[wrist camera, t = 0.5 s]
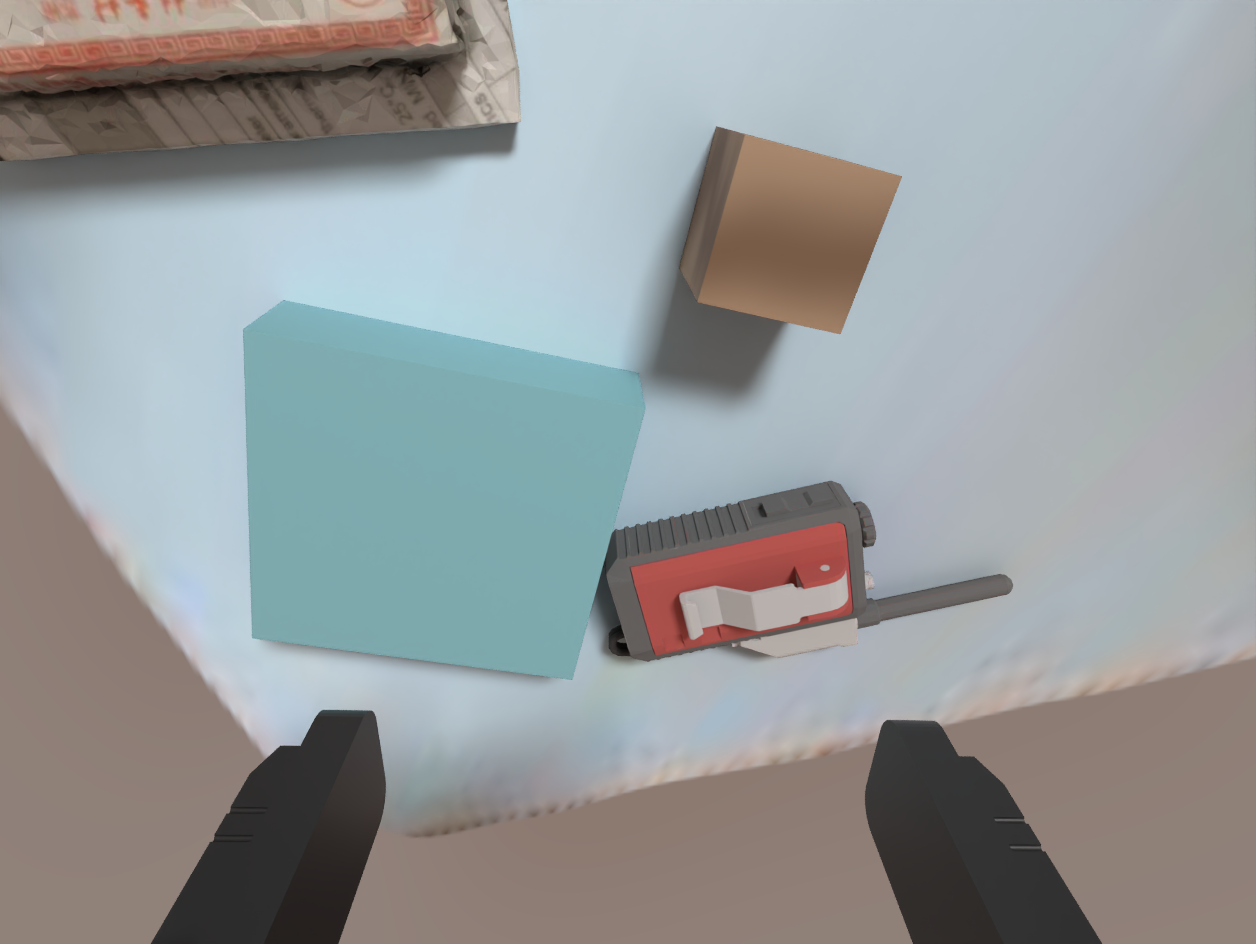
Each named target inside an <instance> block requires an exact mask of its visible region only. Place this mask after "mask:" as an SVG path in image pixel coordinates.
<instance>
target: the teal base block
mask: <svg viewBox="0 0 1256 944" xmlns="http://www.w3.org/2000/svg"><path fill="white" fill-rule="evenodd" d="M243 340H244V374H245V408H246V443H247V477H248V511H249V546H250V580H251V614H252V638H254V639H262V640H269V641H277V642H285V643H292V644H300V645H308V646H315V647H323V648H331V649H338V650H346V651H354V652H362V653H369V654H377V655H385V656H392V657H400V658H408V659H415V660H423V661H431V662H438V663H446V664H454V665H462V666H469V667H477V668H485V669H492V670H500V671H508V672H515V673H523V674H531V675H538V676H546V677H554V678H562V679H569V680H572V679H573V675H574V671H575V667H576V664H577V660H578V656H579V653H580V649H581V645H582V641H583V638H584V634H585V630H586V627H587V623H588V619H589V616H590V612H591V608H592V604H593V601H594V597H595V593H596V590H597V586H598V582H599V579H600V575H601V571H602V567H603V564H604V560H605V556H606V553H607V549H608V545H609V542H610V538H611V534H612V530H613V527H614V523H615V519H616V516H617V512H618V508H619V505H620V501H621V497H622V493H623V490H624V486H625V482H626V479H627V475H628V471H629V468H630V464H631V460H632V456H633V453H634V449H635V445H636V442H637V438H638V434H639V431H640V427H641V423H642V419H643V416H644V412H645V403H644V398H643V392H642V387H641V382H640V376H639V373H636V372H631V371H626V370H621V369H616V368H611V367H606V366H601V365H597V364H592V363H587V362H582V361H577V360H572V359H567V358H563V357H558V356H553V355H548V354H543V353H538V352H533V351H529V350H524V349H519V348H514V347H509V346H504V345H499V344H494V343H490V342H485V341H480V340H475V339H470V338H465V337H460V336H456V335H451V334H446V333H441V332H436V331H431V330H426V329H421V328H417V327H412V326H407V325H402V324H397V323H392V322H387V321H383V320H378V319H373V318H368V317H363V316H358V315H353V314H349V313H344V312H339V311H334V310H329V309H324V308H319V307H314V306H310V305H305V304H300V303H295V302H290V301H285V300H283V301H282V302H281V303H279V304H278V305H276V306H275V307H274V308H272V309H271V310H269V311H268V312H267V313H265V314H264V315H262V316H261V317H260V318H258V319H257V320H255V321H254V322H253V323H251V324H250V325H248V326H247V327H246V328H244V329H243Z"/></svg>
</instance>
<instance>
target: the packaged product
mask: <svg viewBox="0 0 1256 944" xmlns="http://www.w3.org/2000/svg"><path fill="white" fill-rule="evenodd" d="M515 122H521V111H520V82H519V67H518V61H517V55H516V49H515V43H514V38H513V32H512V26H511V20H510V14H509V8H508V3H507V0H0V161H14V160H35V159H44V158H53V157H61V156H70V155H79V154H93V153H111V152H130V151H148V150H167V149H183V148H191V147H200V146H208V145H220V144H241V143H262V142H283V141H301V140H310V139H319V138H328V137H337V136H348V135H367V134H383V133H400V132H417V131H434V130H451V129H467V128H477V127H484V126H492V125H500V124H507V123H515Z"/></svg>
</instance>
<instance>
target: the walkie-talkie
mask: <svg viewBox="0 0 1256 944" xmlns="http://www.w3.org/2000/svg"><path fill="white" fill-rule="evenodd" d="M875 540H876V531H875V526H874V522H873V519H872V516H871V513H870V510H869V509H868V507H867V506H866V505H865V504H864V503H862V502H861V501H860V502H855V503H852V501H851V500H850V498H849V497H848V495H847V493H846V492H845V490H844V489H843V487H842V486H841V484H838V483H836V482H833V481H828V482H824V483H819V484H815V485H810V486H806V487H801V488H797V489H792V490H788V491H783V492H779V493H774V494H770V495H766V496H761V497H757V498H752V499H748V500H743V501H739V502H738V504H733V505H731V503H730V504H727V506H724V507H719V506H716V507H715V509H711V510H708V509H704V511H702V512H698V513H697V512H696V511H694V512H693V513H692V514H689V515H685V514H681V516H680V517H675V518H674V516H672V517H670V519H666V520H663V519H659V520H658V521H657V522H653V523H652V522H651V521H649V522H647V524H644V525H640V524H636V526H635V527H631V528H629V527H628V526H627V527H625V528H624V529H622V530H617V529H615V530H614V532H613V533H612V534H611V538H610V542H609V545H608V549H607V553H606V556H605V558H606V576H607V580H608V584H609V588H610V591H611V594H612V598H613V601H614V604H615V607H616V610H617V614H618V617H619V620H620V623H621V625H620V626H617V627H615V628H614V629H612V630H611V632H610V633H609V649H610V651H611V652H612V653H614V654H616V655H618V656H631V657H632V658H635V659H639V660H643V661H648V662H649V661H650V660H655V659H657V660H658V659H661V658H664V657H671V656H674V655H682V654H683V653H688V652H689V653H692V652H694V651H698V650H704V649H707V648H715V647H717V646H725V645H727V644H731V643H732V647H735V646H742V647H745V648H748V649H752V650H755V651H758V652H761V653H765V654H768V655H771V656H774V657H778V658H780V657H785V656H790V655H795V654H800V653H805V652H810V651H815V650H820V649H825V648H830V647H834V646H843V647H845V646H850V645H855V644H858V637H857V629H859V628H864V627H868V626H873V625H877V624H879V623H880V621H883V620H888V619H893V618H897V617H902V616H907V615H912V614H917V613H921V612H926V611H931V610H936V609H940V608H945V607H950V606H955V605H959V604H964V603H969V602H974V601H979V600H983V599H988V598H993V597H998V596H1002V595H1007V594H1009V593H1010V592H1011V590H1012V588H1013V584H1012V581H1011V579H1010V578H1009V577H1007V576H1006V575H1002V574H998V575H993V576H988V577H984V578H979V579H974V580H969V581H965V582H960V583H955V584H950V585H946V586H941V587H936V588H932V589H927V590H922V591H917V592H913V593H908V594H903V595H898V596H894V597H889V598H884V599H879V600H873V599H872V598H870V599H866V590H869V589H873V588H874V581H873V578H872V575H869V574H870V572H869V571H868V572H864V560H863V547H864V548H865V547H869V546H873V545H874V542H875ZM862 546H863V547H862ZM624 637H625V639H626V642H627V643H619V642H617V640H619V639H621V638H624Z"/></svg>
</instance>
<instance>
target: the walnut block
mask: <svg viewBox="0 0 1256 944" xmlns="http://www.w3.org/2000/svg"><path fill="white" fill-rule="evenodd" d="M901 178H902V176H898V175H895V174H891V173H887V172H884V171H880V170H877V169H873V168H869V167H866V166H862V165H859V164H855V163H851V162H848V161H844V160H840V159H837V158H833V157H829V156H825V155H822V154H818V153H814V152H810V151H807V150H803V149H799V148H796V147H792V146H788V145H784V144H781V143H777V142H773V141H769V140H766V139H762V138H758V137H754V136H751V135H747V134H743V133H739V132H736V131H732V130H728V129H724V128H721V127H717V126H716V130H715V134H714V138H713V141H712V145H711V149H710V153H709V157H708V160H707V164H706V168H705V172H704V175H703V179H702V183H701V187H700V190H699V194H698V198H697V202H696V206H695V209H694V213H693V217H692V221H691V224H690V228H689V232H688V236H687V239H686V243H685V247H684V251H683V254H682V258H681V262H680V266H679V269H680V270H681V272H682V274H683V276H684V278H685V280H686V282H687V284H688V286H689V287H690V289H691V291H692V293H693V295H694V297H695V299H696V301H697V302H698V303H703V304H707V305H712V306H716V307H721V308H725V309H730V310H734V311H738V312H743V313H747V314H752V315H756V316H761V317H765V318H770V319H774V320H779V321H783V322H788V323H792V324H797V325H801V326H806V327H810V328H815V329H819V330H824V331H828V332H832V333H837V334H841V331H842V329H843V326H844V324H845V321H846V318H847V316H848V313H849V311H850V308H851V306H852V303H853V301H854V298H855V296H856V293H857V290H858V288H859V285H860V283H861V280H862V278H863V275H864V273H865V270H866V267H867V265H868V262H869V260H870V257H871V255H872V252H873V250H874V247H875V244H876V242H877V239H878V237H879V234H880V232H881V229H882V227H883V224H884V221H885V219H886V216H887V214H888V211H889V209H890V206H891V204H892V201H893V198H894V196H895V193H896V191H897V188H898V186H899V183H900V181H901Z"/></svg>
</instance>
